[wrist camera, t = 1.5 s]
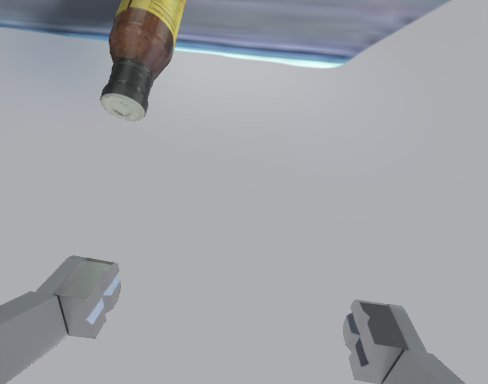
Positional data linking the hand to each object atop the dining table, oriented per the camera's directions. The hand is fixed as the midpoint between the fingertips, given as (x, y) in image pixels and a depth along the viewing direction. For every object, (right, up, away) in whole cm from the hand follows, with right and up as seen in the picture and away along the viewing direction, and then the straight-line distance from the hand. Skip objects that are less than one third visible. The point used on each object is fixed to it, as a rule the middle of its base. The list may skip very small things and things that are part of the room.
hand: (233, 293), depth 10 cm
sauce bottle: (-9, +30, +24) cm, 39 cm away
